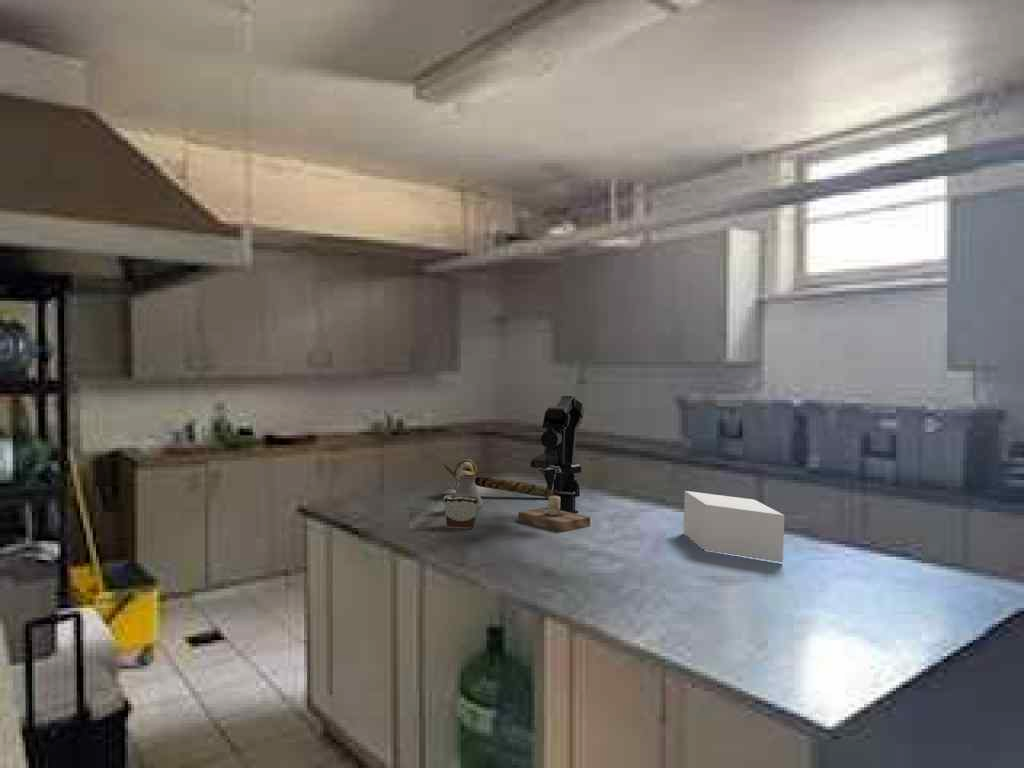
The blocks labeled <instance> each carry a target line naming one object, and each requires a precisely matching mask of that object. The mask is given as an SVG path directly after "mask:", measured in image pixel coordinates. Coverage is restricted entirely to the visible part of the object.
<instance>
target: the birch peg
mask: <svg viewBox="0 0 1024 768" xmlns="http://www.w3.org/2000/svg"><path fill="white" fill-rule="evenodd" d="M547 498H548V497H547ZM547 502H548V503H547V505H548V506H547V507H548V516H552V517H558V516H560V497H559V496H549V498H548V501H547Z"/></svg>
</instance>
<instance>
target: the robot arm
mask: <svg viewBox="0 0 1024 768" xmlns="http://www.w3.org/2000/svg"><path fill="white" fill-rule="evenodd" d="M576 397H577V396H574V395H562V396H561V398H560V400H559V401H558V402H557V404H556V405H554V406H549V407H548V408H547V409H546V410H545V412H544V417H543V421H542V426H541V427H542V429H546V430H545V431H543V433H542V434H541V436H540V443H541V445H542V446H543V447H544V450H543V453H541V454H538V456H536V457H535V458H532V459H531V461H530V468H533V469H534V468H535V469H537V470H538V471H539V472H540V473H542V475H543V476H544V480H545V482H546V486H548V489H549V490H552V487H554V495H558V496H559V497H560V510H561V511H565V512H570V513H574V514H577V513H579V510H577V509H576V498H577V497H581V488H580V484H579V479H578V476H577V474H582V466H581V464H579V463H575V453H576V442H577V431H578V429H579V427H580V426H581V424H582V421H583V419H584V416H585V409H584V405H583V403H581V402H580V401H578V400H577V398H576ZM556 469H557V470H556Z"/></svg>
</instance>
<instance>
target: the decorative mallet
mask: <svg viewBox="0 0 1024 768" xmlns="http://www.w3.org/2000/svg"><path fill="white" fill-rule="evenodd" d="M453 472H454V473H455V474H456V475H457V477H458V478H459V476H460V475H476V476H477V477H476V478H475V484H476V486H478V487H482V488H488V489H492V490H499V491H500V490H501V491H506V492H512V493H514V492H515V493H519V494H523V495H530V496H535V497H536V496H537V497H543V498H549V496H558V495H554V486H553V487H552V490H549V489H548V486H547V485H542V484H536V483H530V482H525V481H524V482H523V481H518V480H517V481H516V480H509V479H505V478H504V479H503V478H500V477H499V478H498V477H497V478H496V477H491V476H488V475H482V474H481V473H480V472H479V471H478V466H477V464H476V462H475V461H473V460H471V459H463V460H461V461H460V462H458V463H456V465H455V468H454V470H453ZM451 475H452V474H451ZM452 478H454V483H453V488H454V490H455V492H456V491H457V489H458V486H459V484H460V482H459V481H458V480H457V479H456V478H455V477H454V476H453V475H452ZM459 479H460V478H459Z"/></svg>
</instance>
